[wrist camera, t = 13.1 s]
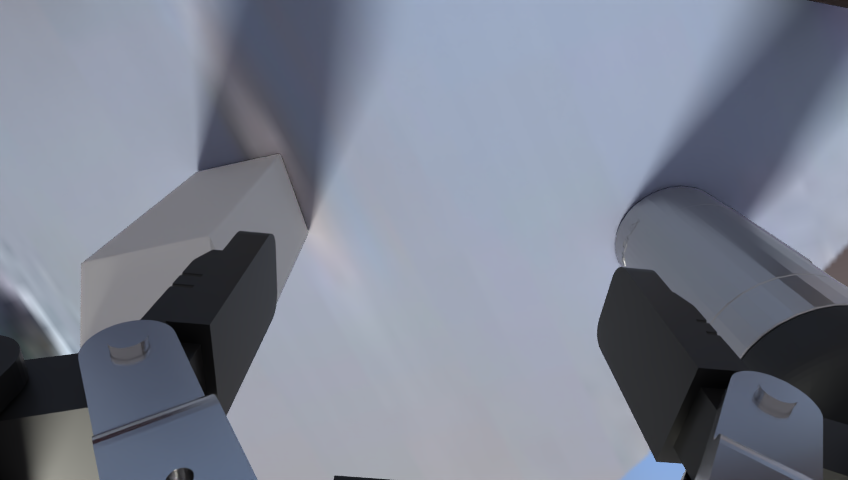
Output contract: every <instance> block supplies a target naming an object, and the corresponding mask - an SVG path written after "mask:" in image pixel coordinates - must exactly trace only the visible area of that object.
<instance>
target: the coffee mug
mask: <svg viewBox="0 0 848 480" xmlns="http://www.w3.org/2000/svg"><path fill="white" fill-rule="evenodd" d="M809 1H814V2H819V3H824V4H830V5H835V6H840V7H845V8H848V0H809Z"/></svg>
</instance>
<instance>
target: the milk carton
mask: <svg viewBox="0 0 848 480" xmlns="http://www.w3.org/2000/svg"><path fill="white" fill-rule="evenodd" d="M238 231H248V232H259V233H270V234H273V235H274V237H275V243H276V269H277V301H278V299H279V297H280V295H281V293H282V290H283V288H284V286H285V284H286V282H287V279H288V277H289V275H290V273H291V271H292V268H293V266H294V264H295V262H296V260H297V257H298V255H299V253H300V251H301V249H302V246H303V244H304V242H305V240H306V238H307V236H308V230H307V227H306V224H305V221H304V218H303V216H302V213H301V210H300V207H299V204H298V202H297V199H296V196H295V193H294V190H293V188H292V185H291V182H290V179H289V176H288V174H287V171H286V168H285V165H284V162H283V160H282V157H281V155H280V154H275V155H270V156H266V157H261V158H257V159H252V160H248V161H243V162H239V163H234V164H230V165H225V166H220V167H216V168H211V169H207V170H203V171H199V172H196V173H195V174H193V175H192V176H191V177H190V178H188V179H187V180H186V181H185V182H183V183H182V184H181V185H180V186H178V187H177V188H176V189H175V190H173V191H172V192H171V193H170V194H168V195H167V196H166V197H165V198H163V199H162V200H161V201H159V202H158V203H157V204H156V205H154V206H153V207H152V208H151V209H149V210H148V211H147V212H146V213H144V214H143V215H142V216H141V217H139V218H138V219H137V220H136V221H134V222H133V223H132V224H131V225H129V226H128V227H127V228H126V229H124V230H123V231H122V232H120V233H119V234H118V235H117V236H115V237H114V238H113V239H112V240H110V241H109V242H108V243H107V244H105V245H104V246H103V247H102V248H100V249H99V250H98V251H97V252H95V253H94V254H93V255H92V256H90V257H89V258H88V259H87V260H85V261H84V262H83V263H81V344H80V349H81V347H82V345H83V344H84V343H85V342H86V341H87V340H88V339H89V338H90V337H92V336H93V335H95V334H96V333H98V332H100V331H102V330H104V329H106V328H108V327H111V326H113V325H116V324H120V323H123V322H128V321H135V320H140V319H141V318H142V317H143V316H144V315H145V314H146V313H147V311H148V310H149V309H150V308H151V307H152V306H153V305H154V304H155V302H156V301H157V300H158V299H159V298H160V297H161V296H162V295H163V293H164V292H165V291H166V290H167V289H168V288H169V287H170V286H172V285H173V284H172V283H173V282H174V281H175V280H176V279H177V278H178V277H179V275H182V272H183V271H184V270H185V269H186V268H187V266H188V265H189V264H190V263H191V262H192V261H193V260H194V259H196V258H198V257H200V256H201V255H203V254H205V253H207V252H209V251H211V250H213V249H214V250H223V249H224V248H225V247H226V246H227V244H228V243H229V242H230V241H231V239H232V238H233V237H234V236H235V234H236V233H237V232H238ZM276 304H277V303H276Z"/></svg>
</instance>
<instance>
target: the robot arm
mask: <svg viewBox="0 0 848 480" xmlns="http://www.w3.org/2000/svg"><path fill="white" fill-rule="evenodd" d="M615 253H616V256H617V259H618V262H619V263H620V265H621V266H622V267H619V268H618V269H617V270H616V271H615V273H614V275H613V277H612V281H611V284H610V287H609V290H608V293H607V296H606V299H605V303H604V306H603V309H602V312H601V315H600V318H599V322H598V328H597V338H598V344H599V347H600V349H601V351H602V353H603V355H604V357H605V359H606V361H607V363H608V365H609V367H610V369H611V371H612V373H613V375H614V377H615V379H616V381H617V383H618V386H619V388H620V390H621V392H622V394H623V396H624V398H625V400H626V402H627V404H628V406H629V408H630V410H631V412H632V414H633V416H634V418H635V420H636V422H637V424H638V426H639V428H640V430H641V432H642V434H643V436H644V438H645V440H646V442H647V444H648V446H649V448H650V450H651V452H652V454H653V456H654V458H655V460H656V462H669V463H682V464H683V465H684V467H685V469H686V470H685V472H684V474H683V476H682V479H681V480H848V287H846V286H845V285H844V284H842V283H840V282H839V281H837V280H836V279H834V278H833V277H831V276H830V275H828V274H827V273H825V272H824V271H822V270H821V269H819V268H818V267H816V266H815V265H813V264H812V262H811V261H810V260H809V259H808V258H806V257H805V256H803V255H802V254H800V253H799V252H797V251H796V250H794V249H793V248H791V247H790V246H788V245H787V244H785V243H784V242H782V241H781V240H779V239H778V238H776V237H775V236H773V235H772V234H770V233H769V232H767V231H766V230H764V229H763V228H761V227H760V226H758V225H757V224H755V223H754V222H752V221H751V220H749V219H748V218H746V217H745V216H743V215H742V214H740V213H739V212H737V211H736V210H734V209H733V208H729V207H727V206H726V205H724V204H723V203H721V202H720V201H718V200H717V199H715V198H714V197H712V196H711V195H709V194H708V193H706V192H704V191H702V190H699V189H696V188H693V187H684V186H680V187H670V188H666V189H663V190H660V191H657V192H655V193H653V194H651V195H649V196H647V197H645V198H644V199H642V200H641V201H640V202H638V203H637V204H636V205H635V206H634V207H633V208H632V209H631V210H630V211H629V212H628V213H627V214H626V216H625V217H624V219H623V220H622V222H621V224H620V226H619V229H618V231H617V234H616V240H615ZM172 284H173V285H172V286H170V287H169V288H168V289H167V290H166V291H165V292H164V293H163V295H162V296H161V297H160V298H159V299H158V300H157V301H156V302H155V304H154V305H153V306H152V307H151V308H150V309H149V310H148V311H147V313H146V314H145V315H144V316H143V317H142V318H141V319H140V320H135V321H128V322H123V323H120V324H116V325H113V326H111V327H108V328H106V329H104V330H102V331H100V332H98V333H96V334H95V335H93V336H92V337H90V338H89V339H88V340H87V341H86V342H85V343H84V344H83V345H82V347H81V349H80V351H79V353H77V354H71V355H62V356H54V357H46V358H38V359H30V360H24V358H23V355H22V352H21V349H20V346H19V344H18V343H17V342H16V341H15V340H14V339H11V338H9V337H6V336H0V480H257V478H256V476H255V474H254V472H253V469H252V467H251V465H250V463H249V461H248V459H247V457H246V455H245V453H244V451H243V449H242V447H241V445H240V443H239V441H238V439H237V437H236V435H235V433H234V431H233V429H232V427H231V425H230V423H229V421H228V419H227V417H226V415H227V413H228V411H229V409H230V407H231V405H232V403H233V401H234V399H235V397H236V394H237V392H238V390H239V388H240V386H241V384H242V382H243V380H244V378H245V376H246V374H247V371H248V369H249V367H250V365H251V363H252V361H253V359H254V357H255V355H256V353H257V350H258V348H259V346H260V344H261V342H262V340H263V338H264V336H265V334H266V332H267V330H268V327H269V325H270V323H271V321H272V319H273V316H274V313H275V309H276V303H277V269H276V243H275V237H274V235H273V234H270V233H259V232H248V231H238V232H237V233H236V234H235V236H234V237H233V238H232V239H231V241H230V242H229V243H228V244H227V246H226V247H225V248H224V249H223V250H214V249H213V250H211V251H209V252H207V253H205V254H203V255H201V256H200V257H198V258H196V259H194V260H193V261H192V262H191V263H190V264H189V265H188V266H187V268H186V269H185V270H184V271H183V272H182V275H179V277H178V278H177V279H176V280H175V281H174V282H173V283H172ZM334 480H388V479H374V478H361V477H347V476H334Z"/></svg>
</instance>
